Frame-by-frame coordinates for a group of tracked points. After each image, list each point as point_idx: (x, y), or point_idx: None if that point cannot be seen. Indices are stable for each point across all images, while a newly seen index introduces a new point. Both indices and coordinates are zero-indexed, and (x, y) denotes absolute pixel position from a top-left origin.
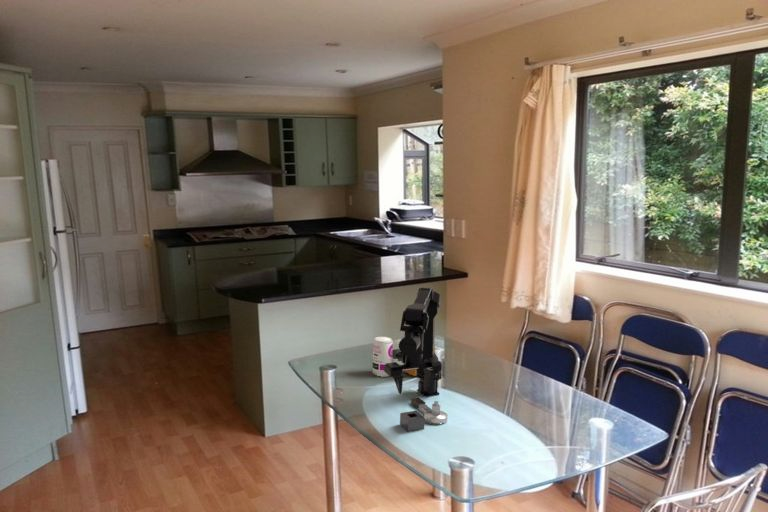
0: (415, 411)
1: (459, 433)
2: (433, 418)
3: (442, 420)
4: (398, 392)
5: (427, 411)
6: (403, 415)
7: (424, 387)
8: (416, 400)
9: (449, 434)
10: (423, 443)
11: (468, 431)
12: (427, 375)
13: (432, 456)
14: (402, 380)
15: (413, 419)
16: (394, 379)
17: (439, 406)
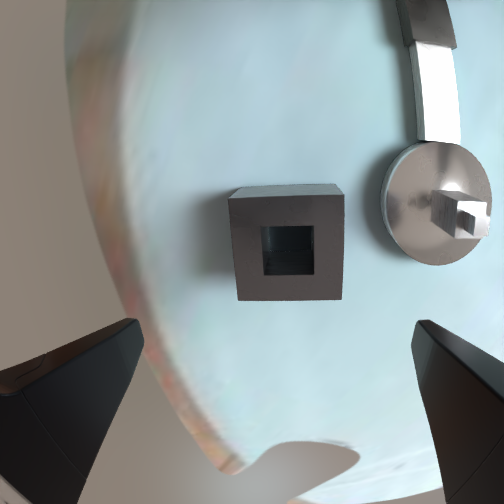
0: (332, 206)
1: None
2: (411, 243)
3: (440, 262)
4: (122, 321)
5: (426, 151)
6: (235, 235)
7: (423, 347)
8: (420, 4)
9: (400, 341)
10: (268, 368)
11: (468, 337)
12: (475, 483)
13: (258, 426)
14: (79, 491)
15: (270, 300)
16: (6, 382)
17: (476, 236)
